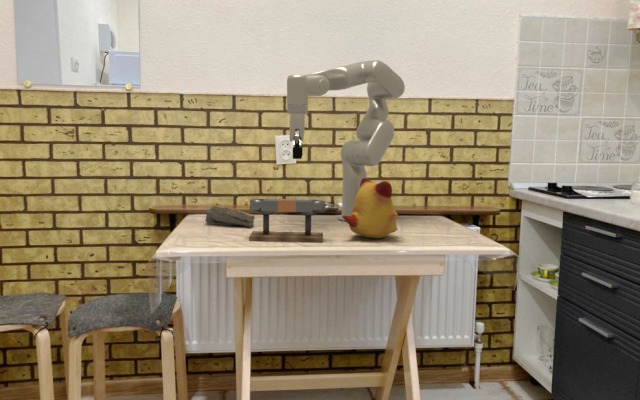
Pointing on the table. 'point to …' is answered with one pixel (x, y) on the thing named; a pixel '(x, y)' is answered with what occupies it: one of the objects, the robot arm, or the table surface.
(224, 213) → the rock
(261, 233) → the rack
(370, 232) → the toy
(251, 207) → the two-ball handle bar
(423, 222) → the table surface
